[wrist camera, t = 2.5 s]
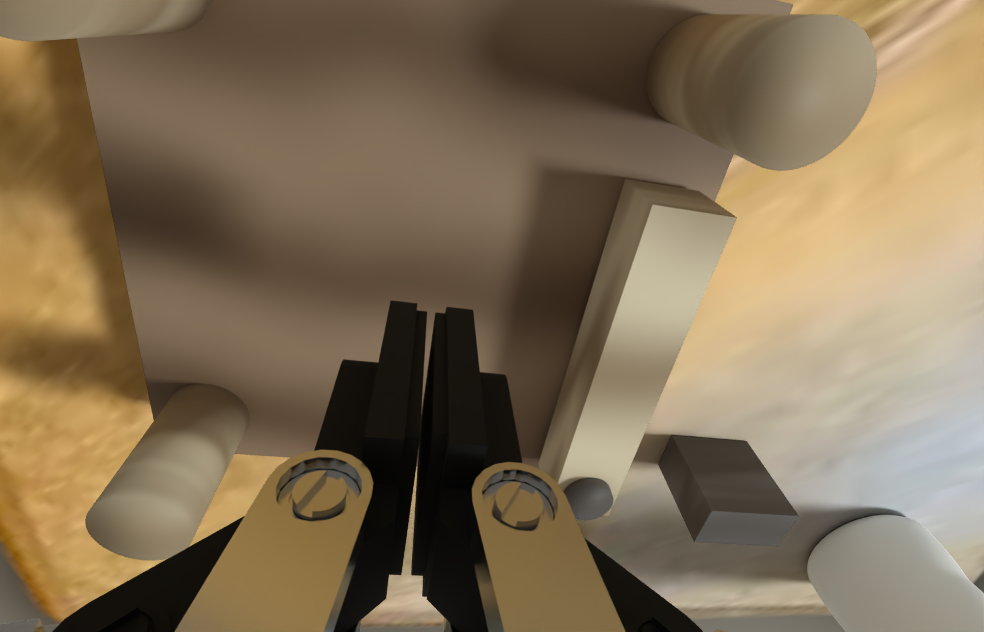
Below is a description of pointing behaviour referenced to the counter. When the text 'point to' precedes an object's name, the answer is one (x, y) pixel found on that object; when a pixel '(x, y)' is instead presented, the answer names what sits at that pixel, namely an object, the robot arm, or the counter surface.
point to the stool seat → (412, 201)
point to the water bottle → (893, 579)
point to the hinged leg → (631, 337)
